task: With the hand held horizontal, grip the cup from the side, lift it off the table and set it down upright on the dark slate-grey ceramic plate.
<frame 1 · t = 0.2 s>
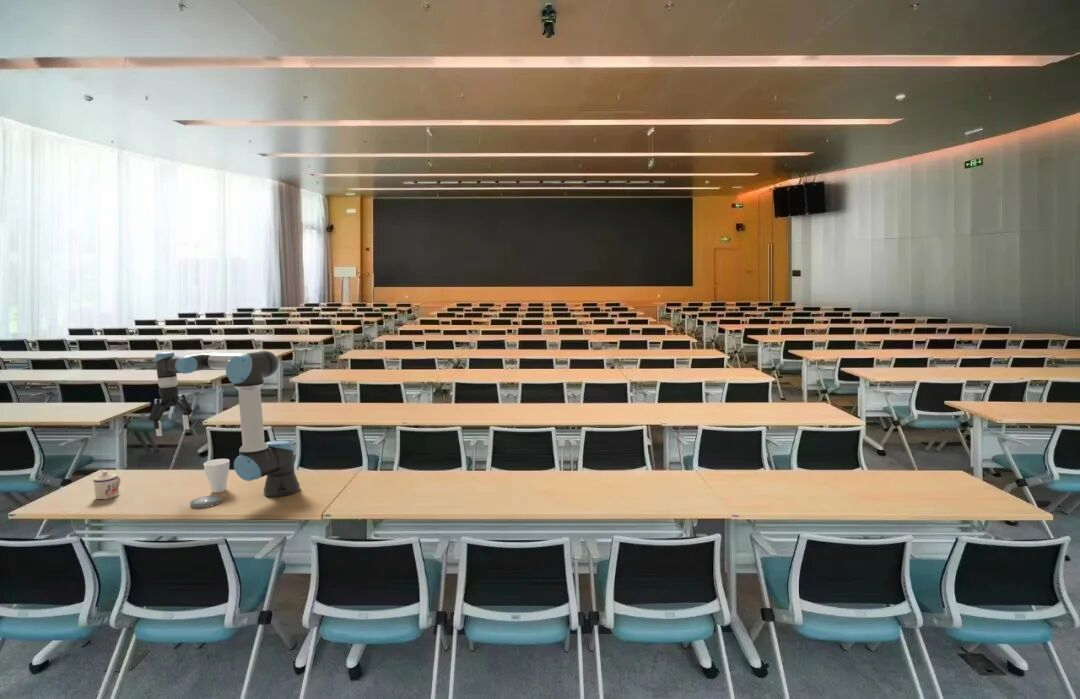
hand: (173, 432, 283), 27 cm above the table, tool pointing down, fingers open, 13 cm apart
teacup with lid: (110, 495, 280), on the table
cup: (219, 491, 284), on the table
plate: (206, 503, 268), on the table
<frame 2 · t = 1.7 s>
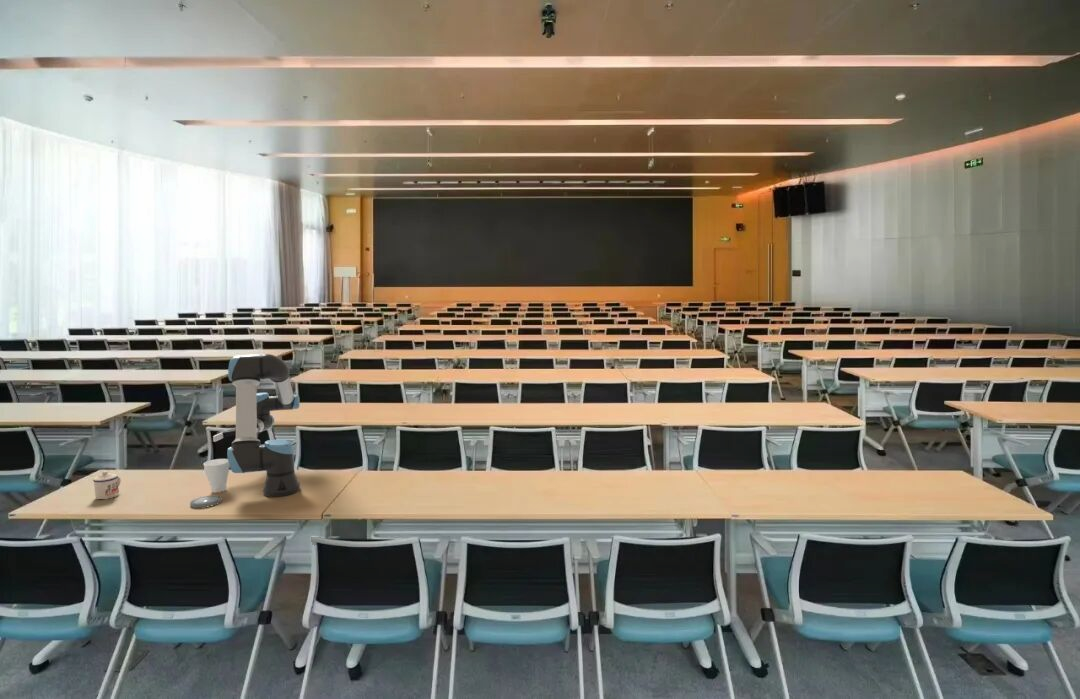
hand: (227, 439, 291), 22 cm above the table, tool horizontal, fingers open, 13 cm apart
nothing on the table moved.
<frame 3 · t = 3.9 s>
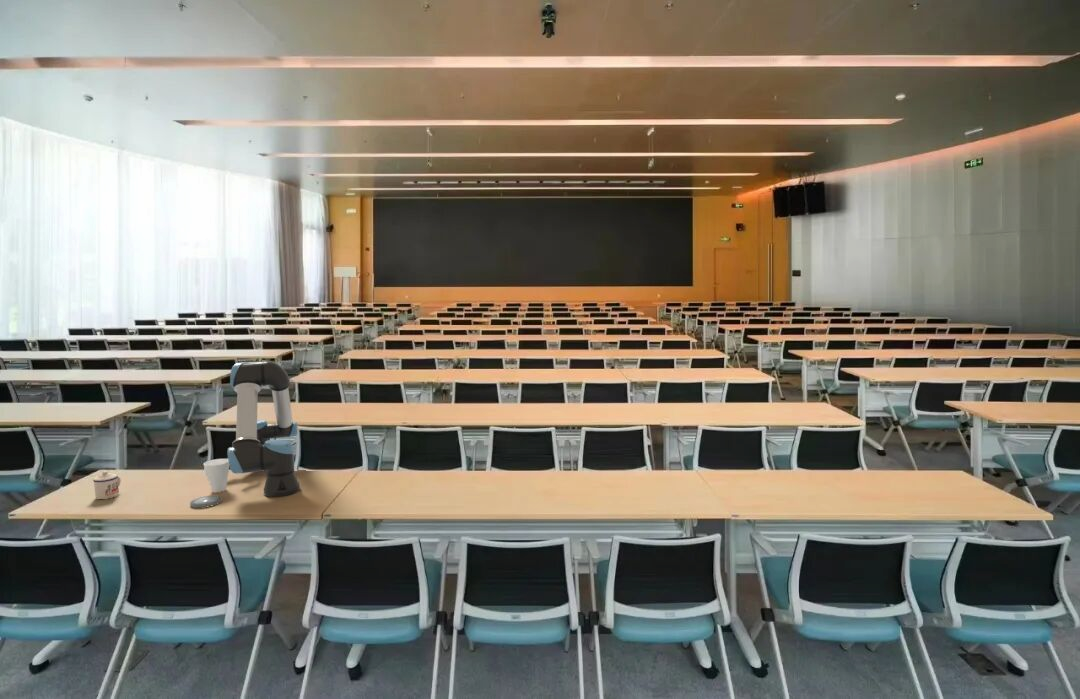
hand: (224, 469, 289), 8 cm above the table, tool horizontal, fingers open, 13 cm apart
nothing on the table moved.
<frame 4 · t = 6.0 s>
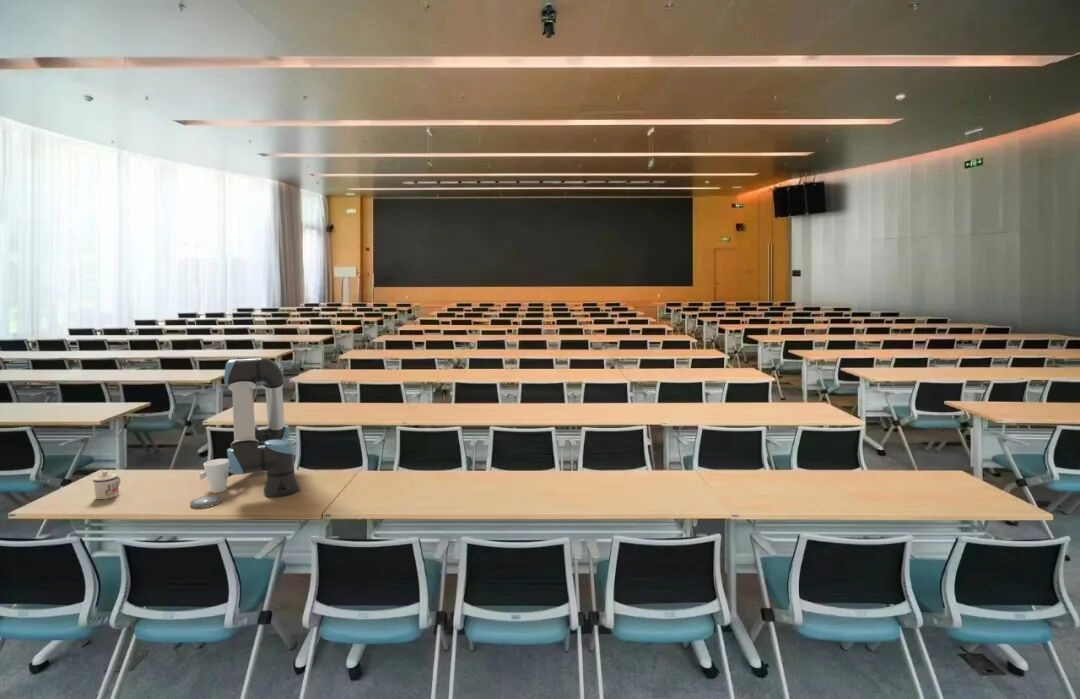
hand: (211, 476, 279), 8 cm above the table, tool horizontal, fingers closed on cup, 10 cm apart
cup: (218, 491, 284), on the table, touching gripper
everything else where it was.
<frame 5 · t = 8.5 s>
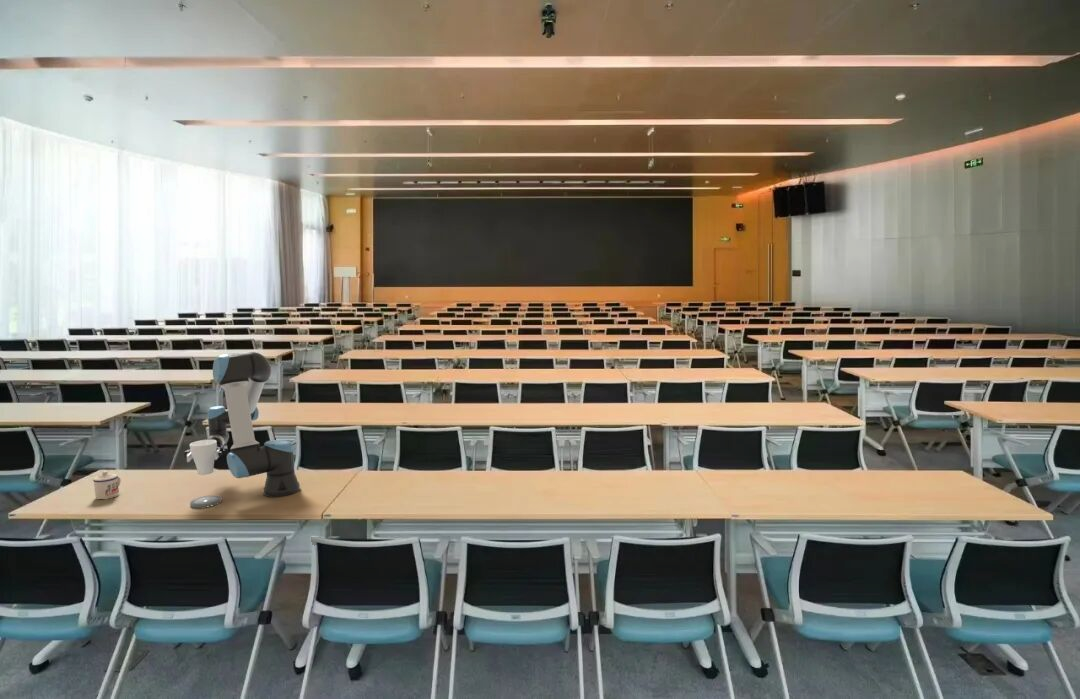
hand: (201, 457, 267), 20 cm above the table, tool horizontal, fingers closed on cup, 10 cm apart
cup: (205, 473, 272), point 12 cm above the table, touching gripper
everything else where it was.
when the fingers open (11 cm above the table, at t = 11.1 s): cup drops 1 cm, resting on plate.
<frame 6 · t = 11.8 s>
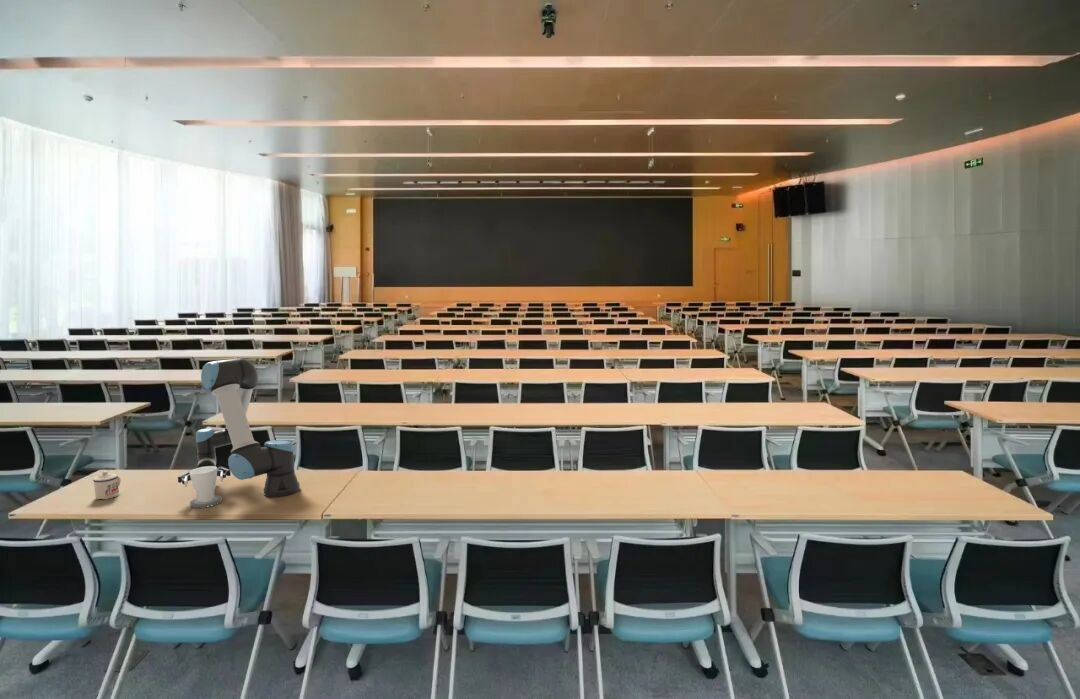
hand: (203, 481, 264), 11 cm above the table, tool horizontal, fingers open, 13 cm apart
cup: (206, 500, 268), point 1 cm above the table, touching plate
everything else where it was.
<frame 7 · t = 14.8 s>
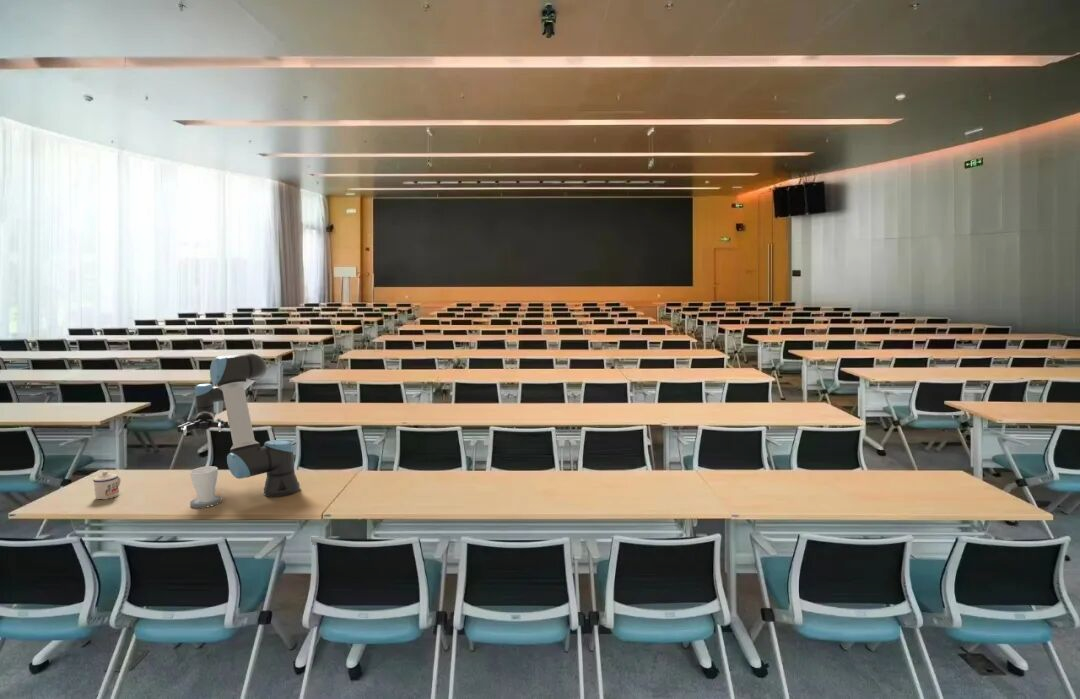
hand: (202, 430, 274), 30 cm above the table, tool horizontal, fingers open, 13 cm apart
nothing on the table moved.
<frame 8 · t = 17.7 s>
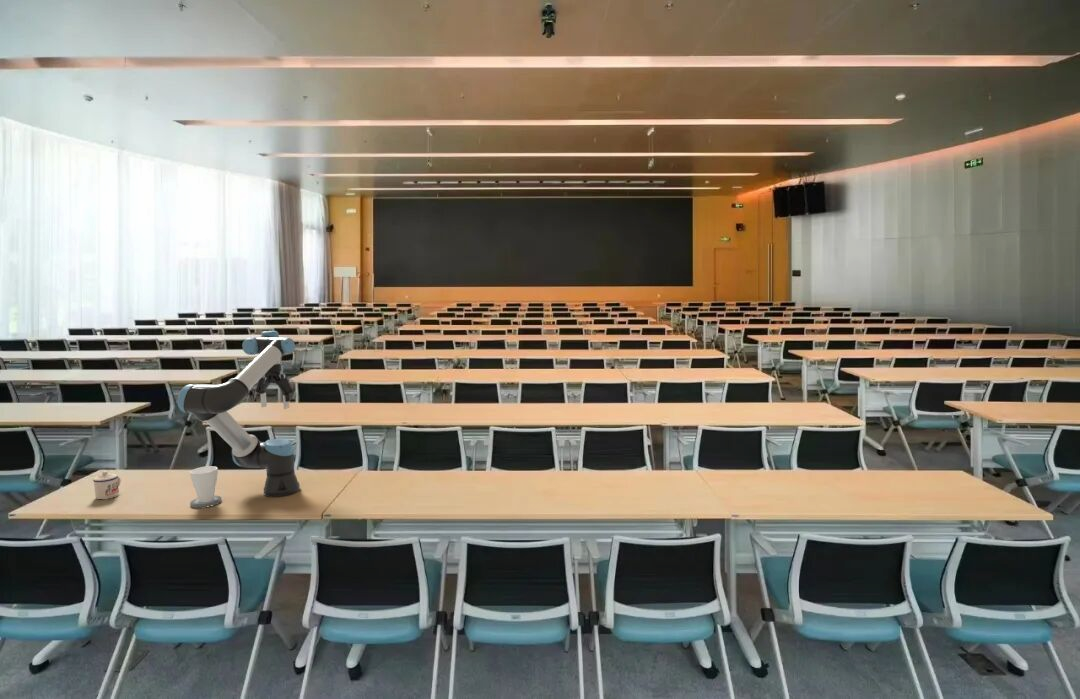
hand: (275, 407, 296), 35 cm above the table, tool pointing down, fingers open, 13 cm apart
nothing on the table moved.
at the end: cup 0.2 cm off-centre on the plate, point 1.1 cm above the plate's base; cup tilted 0°; the gripper is holding nothing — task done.
